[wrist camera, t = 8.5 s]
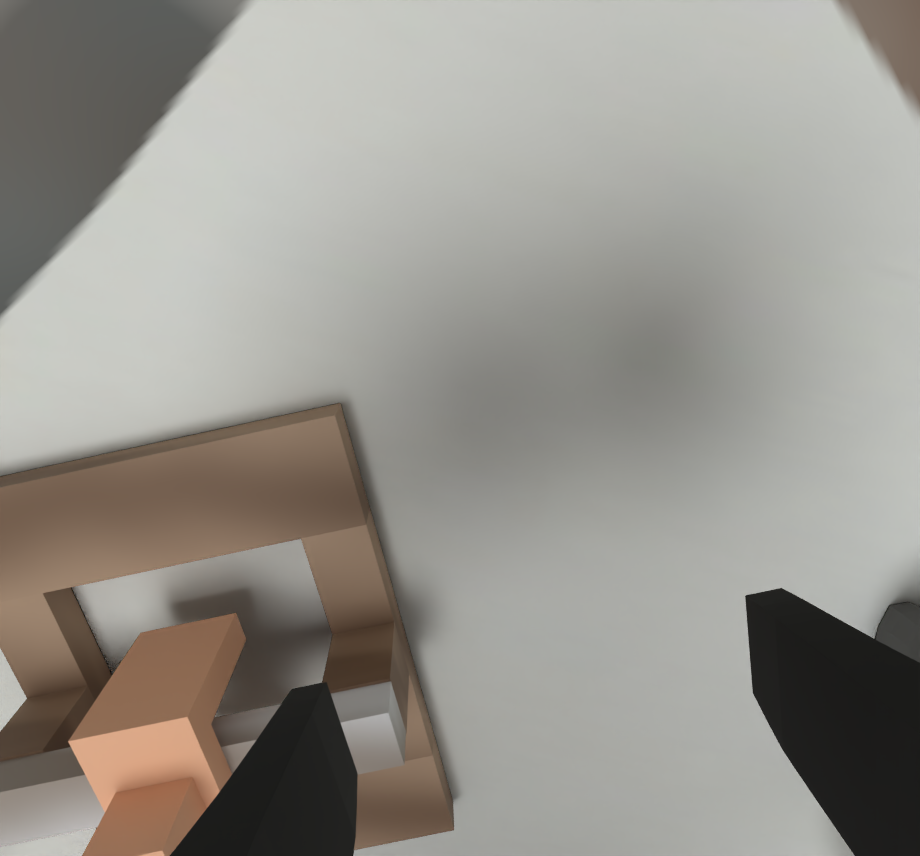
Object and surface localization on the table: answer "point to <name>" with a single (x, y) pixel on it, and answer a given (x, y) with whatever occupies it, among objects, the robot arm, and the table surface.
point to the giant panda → (901, 629)
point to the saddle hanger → (158, 737)
